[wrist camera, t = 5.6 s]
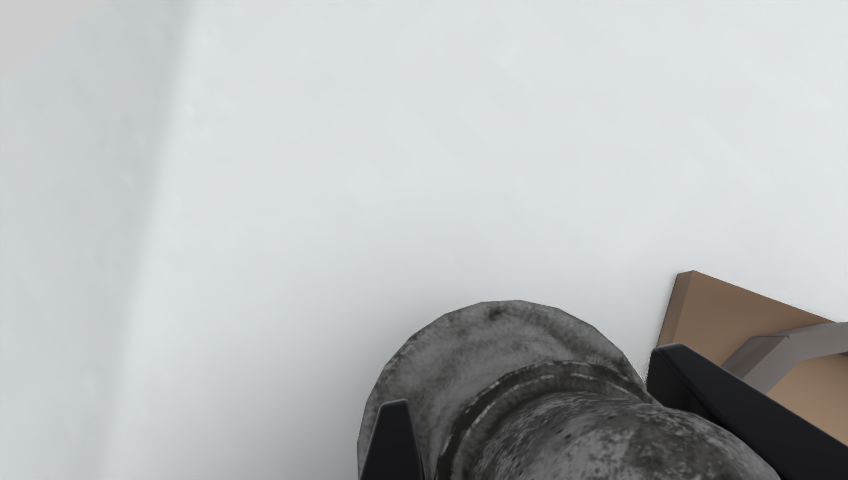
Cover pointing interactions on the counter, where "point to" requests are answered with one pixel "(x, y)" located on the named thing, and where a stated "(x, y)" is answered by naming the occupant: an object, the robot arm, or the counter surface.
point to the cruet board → (751, 312)
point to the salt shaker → (543, 405)
